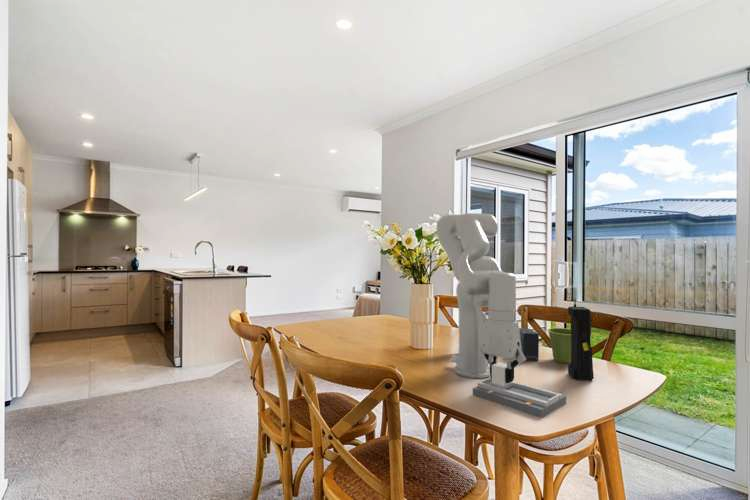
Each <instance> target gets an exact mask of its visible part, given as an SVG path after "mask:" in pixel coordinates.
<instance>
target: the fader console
mask: <svg viewBox="0 0 750 500" xmlns="http://www.w3.org/2000/svg"><path fill="white" fill-rule="evenodd" d="M512 382H513V386H512V387H509V388H507V389H502V388H499V387H495V386H492V385H490V383H492V379H491V378H490V377H486V378H484V379H483V380H480V382H477V383H476V384H477V386H475V387H472V397H473V396H474V397H476V398H480V399H483V400H484V401H485V400H486V401H489V402H492V403H495V404H498V405H501V406H505V407H507V408H511V409H514V410H516V411H520V412H523V413H526V414H528V415H532V416H534V417H538V418H540V419H542V418H544V417H545V416H548V415H549V414H552V413H553V412H554V411H556V410H557V409H559V408H561V407H562V406H565V405H566V404H567V395H565V394H563V393H559V392H554V391H550V390H547V389H545V388H540V387H536V386H532V385H530V384H529V385H528V384H525V383H521V382H518V381H514V380H513V381H512Z"/></svg>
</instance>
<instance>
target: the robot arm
mask: <svg viewBox="0 0 750 500" xmlns="http://www.w3.org/2000/svg"><path fill="white" fill-rule="evenodd" d="M498 230H499V223H498V221H497V219H496V217H495V216H494V214H490V213H473V212H472V213H464V214H447V215H443V216H441V217H440V218H439V219H438V221H437V224H436V234H437V238H438V241H439V243H440V245H441V247H442V249H443V250H444V251H445V253H446V254H447V257H448V260H449V263H450V266H451V270H452V272H453V275H454V277H455V279H456V280H457V281H458V284H457V285H456V289H455V290H456V291H455V292H456V298H457V299H456V300H457V306H458V334H459V335H458V336H459V337H458V355H455V354H453V355H452V357H451V358H450V362H451V363H455V364H456V365H455V366H454V369H453V370H454V373H455V374H457V375H459V376H462V377H465V378H471V379H487V378H491V379H492V365H493V364H496V363H498V362H497V361H498V358H501V359H505V361H506V363H505V364H507V368H506V370H505V382H506V383H510V382H512V381H514V380H515V368H516V367H517V366H519V364H521V363H523V362H526V361H525V360H526V358H525V356H524V354H523V352H522V351H521V338H520V330H519V328H520V326H519V322H518V321H517V302H516V301H517V278H516V275H515V274H514V273H513V272H512V273H511V272H505V271H502V269H501V266H500V265H499V262H498V261H497V260H496V259H495V258H494V257H492V256H488V255H487V254H488V253H489V251H490V248H491V245H490V242H489V240H488V238H489V239H490V238H493V237H495V236H496V235H497V233H498ZM482 308H487V309H485V311H483V310H482ZM517 356H518V357H517ZM516 357H517V359H516Z"/></svg>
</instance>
